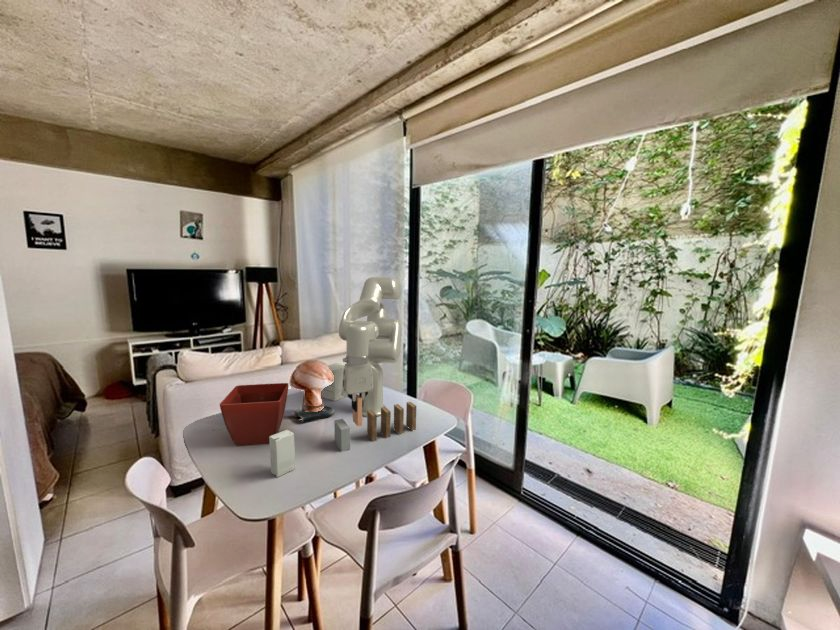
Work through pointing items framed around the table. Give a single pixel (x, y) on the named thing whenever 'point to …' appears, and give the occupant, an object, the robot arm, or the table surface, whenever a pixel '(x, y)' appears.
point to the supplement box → (335, 383)
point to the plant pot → (254, 412)
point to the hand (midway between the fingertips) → (357, 409)
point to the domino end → (358, 412)
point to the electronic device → (315, 414)
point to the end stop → (342, 434)
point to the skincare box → (282, 452)
